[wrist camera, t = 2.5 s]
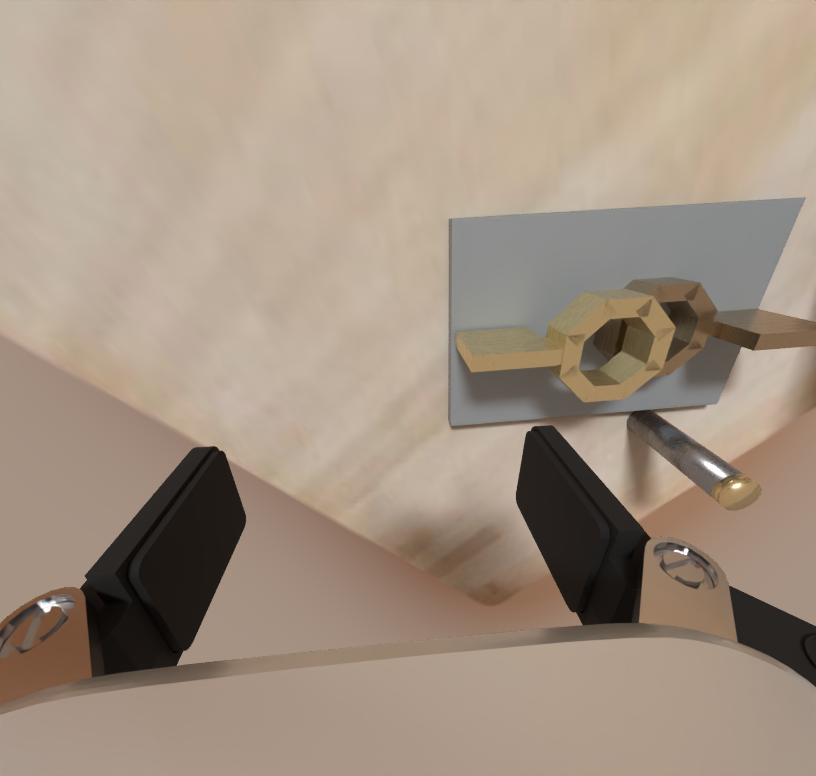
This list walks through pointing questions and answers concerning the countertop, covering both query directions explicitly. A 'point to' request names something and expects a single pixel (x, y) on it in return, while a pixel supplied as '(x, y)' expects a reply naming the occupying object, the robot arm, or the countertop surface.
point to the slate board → (594, 271)
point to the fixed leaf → (706, 324)
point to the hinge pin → (695, 461)
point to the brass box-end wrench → (581, 345)
